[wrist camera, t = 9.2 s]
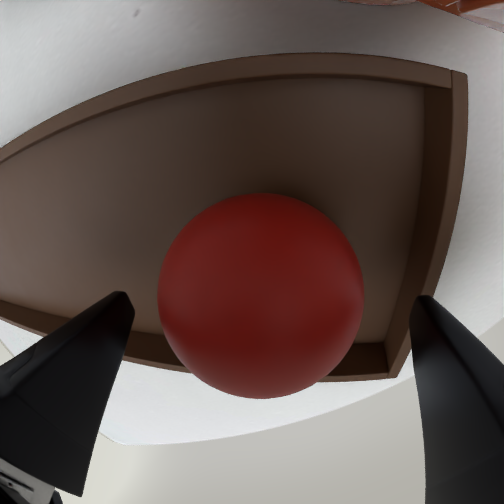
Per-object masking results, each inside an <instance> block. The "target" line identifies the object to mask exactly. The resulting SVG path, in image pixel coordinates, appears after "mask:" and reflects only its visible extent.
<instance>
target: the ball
mask: <svg viewBox="0 0 504 504" xmlns="http://www.w3.org/2000/svg"><path fill="white" fill-rule="evenodd" d="M157 303H158V312H159V318H160V322H161V325H162V328H163V331H164V334H165V336H166V339H167V341H168V343H169V345H170V346H171V348H172V350H173V351H174V353H175V354H176V356H177V357H178V359H179V360H180V361H181V362H182V363H183V364H184V366H185V367H186V368H187V369H188V370H189V371H190V372H191V373H193V374H194V375H195V376H196V377H197V378H199V379H200V380H202V381H203V382H205V383H206V384H208V385H210V386H212V387H214V388H216V389H218V390H220V391H222V392H225V393H228V394H231V395H235V396H239V397H245V398H253V399H269V398H276V397H282V396H286V395H290V394H293V393H296V392H299V391H301V390H303V389H306V388H308V387H310V386H312V385H313V384H315V383H316V382H318V381H319V380H321V379H322V378H323V377H325V376H326V375H328V374H329V373H330V372H331V371H332V370H333V369H334V368H335V367H336V366H337V365H338V364H339V363H340V361H341V360H342V359H343V357H344V356H345V355H346V353H347V352H348V350H349V349H350V347H351V345H352V343H353V341H354V339H355V337H356V335H357V332H358V330H359V327H360V323H361V319H362V314H363V309H364V283H363V276H362V272H361V268H360V265H359V262H358V259H357V256H356V254H355V252H354V250H353V248H352V246H351V244H350V243H349V241H348V239H347V238H346V237H345V235H344V234H343V232H342V231H341V230H340V229H339V228H338V227H337V226H336V225H335V224H334V223H333V222H332V221H331V220H330V219H329V218H328V217H327V216H325V215H324V214H323V213H321V212H320V211H319V210H317V209H316V208H314V207H312V206H310V205H309V204H307V203H305V202H302V201H300V200H297V199H295V198H292V197H288V196H284V195H279V194H272V193H252V194H244V195H238V196H234V197H231V198H227V199H225V200H222V201H220V202H218V203H216V204H214V205H212V206H210V207H208V208H206V209H205V210H203V211H202V212H200V213H199V214H198V215H196V216H195V217H194V218H193V219H192V220H191V221H190V222H189V223H188V224H186V225H185V226H184V227H183V229H182V230H181V231H180V233H179V234H178V235H177V237H176V238H175V239H174V241H173V242H172V244H171V246H170V248H169V250H168V252H167V254H166V256H165V258H164V261H163V264H162V267H161V271H160V275H159V280H158V290H157Z"/></svg>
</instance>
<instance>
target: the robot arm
mask: <svg viewBox="0 0 504 504" xmlns="http://www.w3.org/2000/svg"><path fill="white" fill-rule="evenodd" d="M134 318H135V309H134V307H133V305H132V303H131V301H130V298H129V296H128V294H127V293H126V292H124V291H114V292H112V293H111V294H109V295H107V296H106V297H104V298H103V299H101V300H100V301H98V302H96V303H95V304H93V305H92V306H90V307H89V308H87V309H86V310H84V311H82V312H81V313H79V314H78V315H76V316H75V317H73V318H72V319H70V320H69V321H67V322H66V323H64V324H63V325H61V326H60V327H58V328H57V329H55V330H54V331H52V332H51V333H49V334H48V335H46V336H45V337H44V338H42V339H41V340H39V341H38V342H37V343H35V344H33V345H32V346H30V347H29V348H28V349H26V350H25V351H23V352H22V353H20V354H19V355H17V356H15V357H14V358H12V359H11V360H9V361H8V362H6V363H4V364H3V365H1V366H0V504H63V503H62V500H61V497H60V494H59V492H57V491H56V490H54V489H55V487H56V488H58V489H61V490H63V491H65V492H68V493H70V494H73V495H76V496H78V497H82V494H83V490H84V485H85V481H86V477H87V472H88V468H89V464H90V460H91V456H92V452H93V448H94V444H95V441H96V437H97V434H98V430H99V427H100V424H101V420H102V417H103V414H104V411H105V408H106V405H107V401H108V398H109V395H110V392H111V390H112V387H113V384H114V381H115V378H116V375H117V372H118V370H119V367H120V364H121V361H122V359H123V356H124V353H125V349H126V346H127V342H128V339H129V335H130V331H131V328H132V324H133V321H134ZM409 330H410V338H411V347H412V357H413V367H414V373H415V378H416V385H417V391H418V396H419V404H420V410H421V419H422V428H423V438H424V452H425V473H426V476H425V477H426V488H425V490H426V491H425V504H504V365H503V364H502V363H501V362H500V360H499V359H498V358H497V357H496V356H495V355H494V354H493V353H492V352H491V351H490V350H489V349H488V348H486V346H485V345H484V344H483V343H482V342H481V341H479V339H478V338H477V337H475V336H474V335H473V334H472V333H471V332H470V331H469V330H468V329H467V328H466V327H465V326H464V325H463V324H462V323H461V322H459V321H458V320H457V319H456V318H455V317H454V316H453V315H452V314H451V313H450V312H448V311H447V310H446V309H445V308H444V307H443V306H442V305H440V304H439V303H438V302H437V301H436V300H435V299H434V298H432V297H431V296H430V295H418V296H417V297H416V298H415V300H414V303H413V306H412V309H411V312H410V315H409Z"/></svg>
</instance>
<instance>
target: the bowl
mask: <svg viewBox="0 0 504 504" xmlns="http://www.w3.org/2000/svg"><path fill="white" fill-rule="evenodd" d="M340 1H346V2H351V3H360V4H367V5H401V4H408V3H413V2H417V1H419V2H421V3H424V4H426V5H429V6H432V7H435V8H438V9H441V10H444V11H447V12H450V13H452V14H455V15H458V16H460V17H463V18H465V19H468V20H470V21H473V22H475V23H477V24H480V25H483V26H486V27H489V28H492V29H495V30H498V31H500V32H503V33H504V0H340Z"/></svg>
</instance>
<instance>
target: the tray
mask: <svg viewBox="0 0 504 504" xmlns="http://www.w3.org/2000/svg"><path fill="white" fill-rule="evenodd" d="M467 132H468V79H467V75H466V74H465V73H462V72H458V71H455V70H449V69H447V68H443V67H439V66H435V65H430V64H426V63H421V62H416V61H410V60H404V59H398V58H391V57H383V56H375V55H364V54H351V53H321V52H313V53H283V54H269V55H258V56H249V57H241V58H234V59H228V60H221V61H216V62H210V63H205V64H200V65H195V66H191V67H186V68H182V69H178V70H174V71H170V72H166V73H163V74H159V75H156V76H152V77H149V78H146V79H142V80H139V81H136V82H133V83H130V84H127V85H125V86H122V87H119V88H116V89H114V90H111V91H108V92H106V93H103V94H101V95H98V96H96V97H94V98H91V99H89V100H87V101H84V102H82V103H80V104H78V105H76V106H73V107H71V108H69V109H67V110H65V111H63V112H61V113H59V114H57V115H55V116H53V117H51V118H50V119H48V120H46V121H44V122H42V123H40V124H39V125H37V126H35V127H33V128H32V129H30V130H28V131H27V132H25V133H23V134H22V135H20V136H19V137H17V138H16V139H14V140H12V141H11V142H9V143H8V144H6V145H5V146H3V147H2V148H1V149H0V319H1V320H3V321H5V322H7V323H10V324H12V325H14V326H17V327H19V328H22V329H24V330H27V331H29V332H32V333H34V334H37V335H40V336H43V337H45V336H46V335H48V334H49V333H51V332H52V331H54V330H55V329H57V328H58V327H60V326H61V325H63V324H64V323H66V322H67V321H69V320H70V319H72V318H73V317H75V316H76V315H78V314H79V313H81V312H82V311H84V310H86V309H87V308H89V307H90V306H92V305H93V304H95V303H96V302H98V301H100V300H101V299H103V298H104V297H106V296H107V295H109V294H111V293H112V292H114V291H124V292H126V293H127V294H128V296H129V298H130V301H131V303H132V305H133V307H134V309H135V318H134V321H133V324H132V328H131V331H130V335H129V339H128V342H127V346H126V349H125V353H124V356H123V359H122V360H124V361H128V362H132V363H137V364H142V365H146V366H151V367H156V368H162V369H167V370H173V371H179V372H186V373H191V372H190V371H189V370H188V369H187V368H186V367H185V366H184V364H183V363H182V362H181V361H180V360H179V359H178V357H177V356H176V354H175V353H174V351H173V350H172V348H171V346H170V345H169V343H168V341H167V339H166V336H165V334H164V331H163V328H162V325H161V322H160V318H159V312H158V303H157V290H158V280H159V275H160V271H161V267H162V264H163V261H164V258H165V256H166V254H167V252H168V250H169V248H170V246H171V244H172V242H173V241H174V239H175V238H176V237H177V235H178V234H179V233H180V231H181V230H182V229H183V227H184V226H185V225H186V224H188V223H189V222H190V221H191V220H192V219H193V218H194V217H195V216H196V215H198V214H199V213H200V212H202V211H203V210H205V209H206V208H208V207H210V206H212V205H214V204H216V203H218V202H220V201H222V200H225V199H227V198H231V197H234V196H238V195H244V194H252V193H272V194H279V195H284V196H288V197H292V198H295V199H297V200H300V201H302V202H305V203H307V204H309V205H310V206H312V207H314V208H316V209H317V210H319V211H320V212H321V213H323V214H324V215H325V216H327V217H328V218H329V219H330V220H331V221H332V222H333V223H334V224H335V225H336V226H337V227H338V228H339V229H340V230H341V231H342V232H343V234H344V235H345V237H346V238H347V239H348V241H349V243H350V244H351V246H352V248H353V250H354V252H355V254H356V256H357V259H358V262H359V265H360V268H361V272H362V276H363V283H364V309H363V314H362V319H361V323H360V327H359V330H358V332H357V335H356V337H355V339H354V341H353V343H352V345H351V347H350V349H349V350H348V352H347V353H346V355H345V356H344V357H343V359H342V360H341V361H340V363H339V364H338V365H337V366H336V367H335V368H334V369H333V370H332V371H331V372H330V373H329V374H328V375H326V376H325V377H323V378H322V379H321V380H319V381H318V382H348V381H366V380H379V379H386V378H387V379H390V378H396V377H397V376H398V374H399V372H400V370H401V368H402V366H403V364H404V362H405V360H406V358H407V356H408V354H409V352H410V350H411V348H412V347H411V338H410V330H409V315H410V312H411V309H412V306H413V303H414V300H415V298H416V297H417V296H418V295H430V296H431V297H432V298H433V295H434V293H435V290H436V287H437V284H438V281H439V278H440V275H441V272H442V269H443V265H444V262H445V259H446V255H447V252H448V248H449V244H450V241H451V237H452V233H453V228H454V224H455V220H456V215H457V210H458V205H459V200H460V194H461V188H462V181H463V174H464V166H465V158H466V147H467ZM192 374H193V373H192Z"/></svg>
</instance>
